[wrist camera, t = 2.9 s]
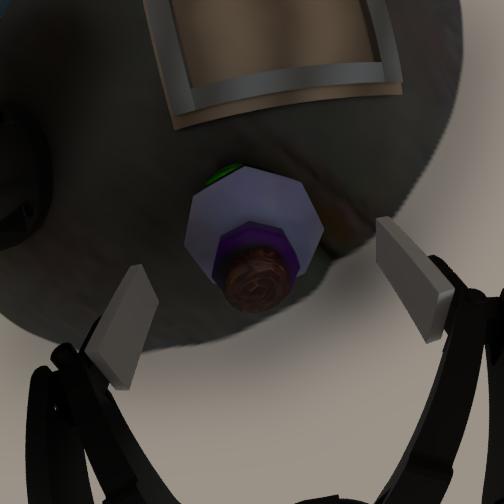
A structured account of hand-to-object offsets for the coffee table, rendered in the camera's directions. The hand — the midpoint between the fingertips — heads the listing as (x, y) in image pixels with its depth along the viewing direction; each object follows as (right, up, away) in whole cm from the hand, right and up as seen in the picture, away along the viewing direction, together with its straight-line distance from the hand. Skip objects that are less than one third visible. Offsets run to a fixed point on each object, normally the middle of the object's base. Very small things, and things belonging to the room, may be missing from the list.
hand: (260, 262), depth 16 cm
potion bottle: (-1, +5, +8) cm, 10 cm away
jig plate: (+1, +19, 0) cm, 19 cm away
